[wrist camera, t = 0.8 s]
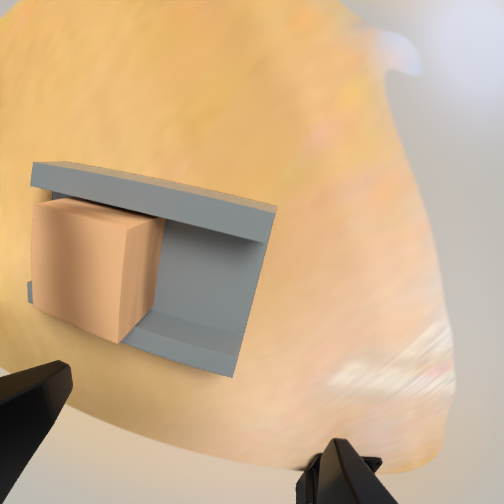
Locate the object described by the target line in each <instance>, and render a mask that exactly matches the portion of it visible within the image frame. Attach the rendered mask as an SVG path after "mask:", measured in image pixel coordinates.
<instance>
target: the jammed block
mask: <svg viewBox="0 0 504 504" xmlns="http://www.w3.org/2000/svg"><path fill="white" fill-rule="evenodd" d="M165 223H166V218H162V217H158V216H154V215H150V214H146V213H142V212H138V211H134V210H130V209H126V208H121V207H117V206H113V205H109V204H105V203H101V202H96V201H92V200H88V199H84V198H80V197H75V196H74V197H68V198H62V199H57V200H51V201H46V202H41V203H35V204H34V205H33V220H32V248H31V268H32V296H33V307H34V308H36V309H38V310H40V311H42V312H44V313H47V314H49V315H51V316H53V317H55V318H57V319H59V320H61V321H64V322H66V323H68V324H70V325H73V326H75V327H77V328H79V329H82V330H84V331H86V332H89V333H91V334H94V335H96V336H98V337H101V338H103V339H106V340H108V341H111V342H113V343H116V344H118V343H119V342H120V341H121V340H122V339H123V338H124V337H125V336H126V335H127V334H128V333H129V332H130V331H131V329H132V328H133V327H134V326H135V325H136V324H137V323H138V322H139V321H140V320H141V319H142V318H143V317H144V316H145V315H146V314H147V312H148V311H149V310H150V309H151V308H152V307H153V304H154V296H155V288H156V281H157V273H158V266H159V260H160V253H161V247H162V241H163V234H164V229H165Z"/></svg>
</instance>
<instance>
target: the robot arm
mask: <svg viewBox="0 0 504 504" xmlns="http://www.w3.org/2000/svg"><path fill="white" fill-rule="evenodd" d="M72 388H73V382H72V374H71V368H70V366H69V365H68V364H66V363H64V362H62V361H60V360H57V361H53V362H50V363H47V364H44V365H40V366H37V367H34V368H30V369H27V370H23V371H20V372H17V373H13V374H10V375H6V376H3V377H0V504H2V503H3V502H4V500H5V499H6V497H7V495H8V493H9V492H10V490H11V489H12V487H13V486H14V484H15V482H16V481H17V479H18V478H19V476H20V474H21V473H22V471H23V470H24V468H25V466H26V465H27V464H28V462H29V460H30V459H31V458H32V456H33V454H34V453H35V451H36V450H37V448H38V447H39V445H40V444H41V443H42V441H43V440H44V438H45V437H46V435H47V434H48V432H49V431H50V429H51V427H52V426H53V424H54V423H55V421H56V419H57V417H58V415H59V413H60V411H61V410H62V408H63V406H64V404H65V402H66V400H67V398H68V397H69V395H70V393H71V391H72ZM381 465H382V459H381V458H372V457H360V456H359V454H358V453H357V452H356V451H355V449H354V448H353V447H352V446H351V444H350V443H349V442H348V441H347V440H346V439H342V438H333V439H331V441H330V442H329V444H328V446H327V447H326V449H325V451H324V452H323V454H319V455H317V456H316V457H315V459H314V461H313V462H312V464H311V465H310V467H309V468H308V469H306V470H305V471H304V473H303V474H302V476H301V477H300V479H299V480H298V482H297V483H296V504H398V503H397V501H396V500H395V499H394V498H393V497H392V496H391V494H390V493H389V492H388V490H387V489H386V488H385V487H384V486H383V484H382V483H381V482H380V481H379V479H378V478H377V477H376V476H375V472H376V471H377V469H378V468H379V467H380V466H381Z"/></svg>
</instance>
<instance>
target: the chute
mask: <svg viewBox="0 0 504 504" xmlns="http://www.w3.org/2000/svg"><path fill="white" fill-rule="evenodd" d="M30 186H33V187H37V188H41V189H46V190H50V191H53V195H52V200H57V199H62V198H68V197H74V196H75V197H80V198H84V199H88V200H92V201H96V202H101V203H105V204H109V205H113V206H117V207H121V208H126V209H130V210H134V211H138V212H142V213H146V214H150V215H154V216H158V217H162V218H166V223H165V229H164V234H163V241H162V247H161V253H160V260H159V266H158V273H157V281H156V288H155V296H154V304H153V307H152V308H151V309H150V310H149V311H148V312H147V314H146V315H145V316H144V317H143V318H142V319H141V320H140V321H139V322H138V323H137V324H136V325H135V326H134V327H133V328H132V329H131V331H130V332H129V333H128V334H127V335H126V336H125V337H124V338H123V339H122V340H121V341H120V342H121V343H123V344H126V345H129V346H132V347H134V348H137V349H140V350H143V351H145V352H148V353H151V354H154V355H157V356H160V357H163V358H166V359H169V360H172V361H175V362H178V363H182V364H185V365H188V366H191V367H195V368H198V369H202V370H205V371H209V372H212V373H216V374H219V375H223V376H227V377H230V378H232V377H233V374H234V370H235V366H236V363H237V359H238V355H239V351H240V347H241V344H242V340H243V336H244V332H245V328H246V325H247V321H248V317H249V313H250V310H251V306H252V302H253V298H254V294H255V290H256V287H257V283H258V279H259V275H260V271H261V267H262V263H263V260H264V256H265V252H266V248H267V244H268V241H269V237H270V233H271V229H272V225H273V221H274V217H275V213H276V209H277V206H274V205H271V204H267V203H263V202H259V201H254V200H250V199H246V198H242V197H238V196H234V195H230V194H225V193H221V192H217V191H212V190H208V189H204V188H199V187H195V186H190V185H186V184H181V183H176V182H172V181H167V180H162V179H157V178H152V177H147V176H142V175H137V174H132V173H127V172H122V171H117V170H111V169H106V168H100V167H95V166H89V165H83V164H78V163H72V162H66V161H63V162H33V167H32V175H31V184H30ZM27 288H28V302H29V303H31V304H33V296H32V281H30V282H28V283H27Z"/></svg>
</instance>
